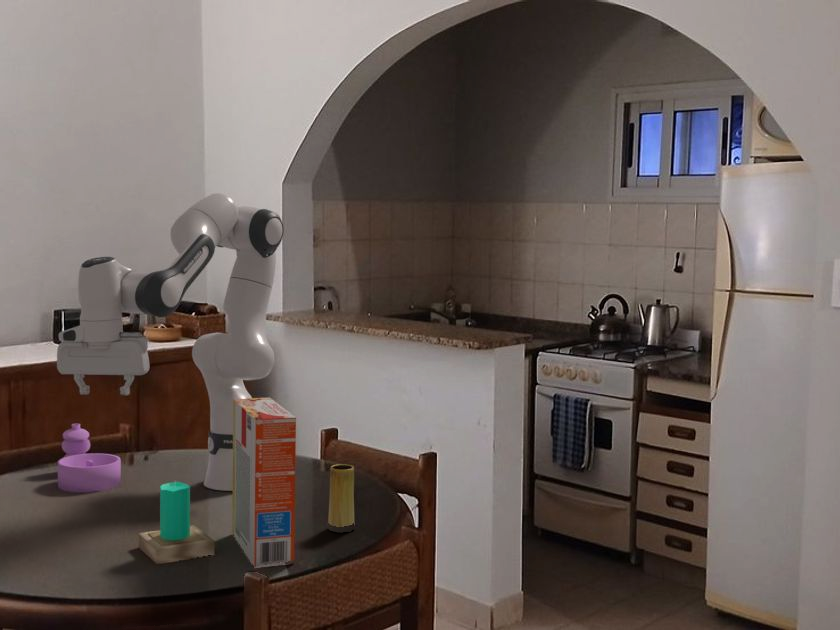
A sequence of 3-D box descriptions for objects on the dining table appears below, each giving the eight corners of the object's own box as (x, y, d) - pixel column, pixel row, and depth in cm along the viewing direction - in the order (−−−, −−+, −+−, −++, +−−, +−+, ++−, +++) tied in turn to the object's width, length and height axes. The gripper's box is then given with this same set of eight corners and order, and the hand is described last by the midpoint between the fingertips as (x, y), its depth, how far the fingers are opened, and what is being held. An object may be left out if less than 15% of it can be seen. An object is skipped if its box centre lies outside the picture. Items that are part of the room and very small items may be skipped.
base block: (193, 538, 218) (194, 524, 218) (214, 554, 208) (214, 539, 208) (138, 547, 212) (138, 532, 212) (156, 564, 202) (156, 548, 201)
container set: (127, 488, 257) (127, 437, 256) (65, 495, 249) (65, 443, 248) (101, 466, 278) (101, 419, 277) (43, 473, 270) (42, 424, 269)
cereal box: (294, 564, 204) (296, 417, 201) (254, 568, 201) (255, 419, 198) (268, 531, 225) (269, 397, 222) (232, 534, 222) (233, 399, 219)
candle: (161, 531, 212) (161, 475, 211) (191, 531, 213) (191, 475, 212) (158, 540, 206) (158, 482, 205) (188, 540, 207) (188, 482, 206)
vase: (358, 527, 229) (360, 465, 228) (348, 535, 223) (349, 471, 222) (334, 524, 231) (335, 462, 230) (323, 531, 225) (324, 468, 224)
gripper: (152, 330, 223) (155, 392, 224) (66, 329, 226) (69, 391, 227) (140, 334, 216) (143, 398, 218) (51, 333, 220) (54, 396, 221)
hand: (104, 394), depth 223 cm, fingers open, 8 cm apart
